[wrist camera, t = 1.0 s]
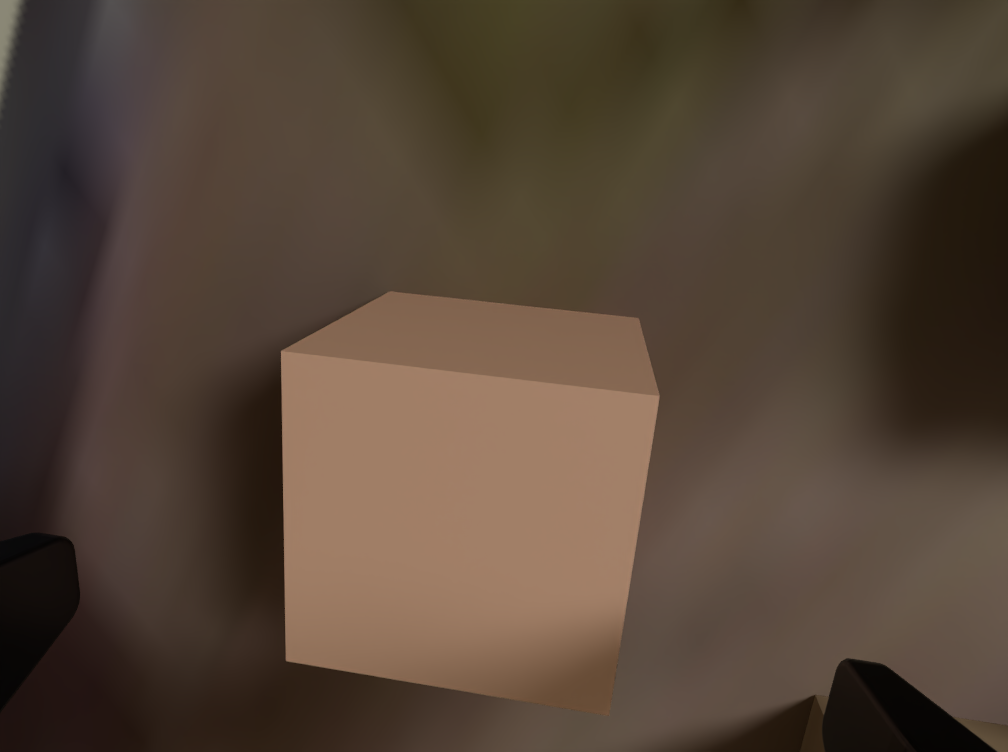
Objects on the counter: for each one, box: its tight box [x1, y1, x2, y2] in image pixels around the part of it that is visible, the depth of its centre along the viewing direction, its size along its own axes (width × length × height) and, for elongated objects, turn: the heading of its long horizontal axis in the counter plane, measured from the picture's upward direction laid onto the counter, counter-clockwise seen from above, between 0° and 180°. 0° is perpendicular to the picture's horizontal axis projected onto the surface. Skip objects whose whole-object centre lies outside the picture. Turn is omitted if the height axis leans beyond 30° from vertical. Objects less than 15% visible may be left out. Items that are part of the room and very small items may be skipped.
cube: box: [281, 292, 660, 716], centre depth 12 cm, size 5×5×5 cm
